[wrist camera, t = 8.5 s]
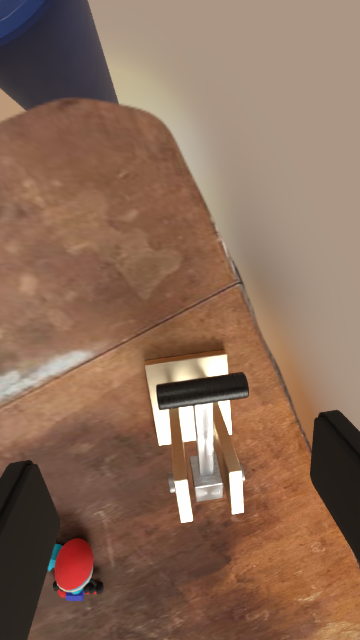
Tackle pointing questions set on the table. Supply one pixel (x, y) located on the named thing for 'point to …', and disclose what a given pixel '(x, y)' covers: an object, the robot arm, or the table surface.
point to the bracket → (180, 426)
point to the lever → (203, 422)
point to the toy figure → (74, 570)
